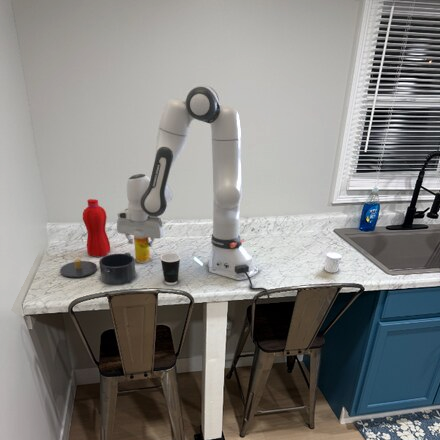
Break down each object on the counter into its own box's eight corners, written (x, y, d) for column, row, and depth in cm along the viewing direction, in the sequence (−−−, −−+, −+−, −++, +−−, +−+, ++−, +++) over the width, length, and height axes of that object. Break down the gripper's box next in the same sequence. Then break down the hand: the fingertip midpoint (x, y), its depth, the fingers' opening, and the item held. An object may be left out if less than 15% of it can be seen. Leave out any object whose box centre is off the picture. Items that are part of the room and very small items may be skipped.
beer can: (147, 264, 176) (144, 231, 169) (133, 262, 177) (131, 230, 169) (151, 258, 181) (149, 227, 174) (139, 257, 182) (136, 225, 175)
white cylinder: (330, 274, 173) (332, 259, 169) (319, 268, 178) (322, 253, 174) (342, 271, 175) (345, 256, 172) (331, 265, 181) (334, 250, 177)
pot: (143, 269, 171) (142, 253, 167) (122, 290, 155) (121, 272, 151) (115, 265, 174) (113, 249, 170) (91, 284, 158) (88, 267, 154)
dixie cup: (171, 275, 167) (170, 251, 161) (185, 281, 163) (184, 256, 157) (157, 282, 161) (155, 257, 156) (171, 288, 157) (170, 263, 152)
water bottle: (114, 248, 190) (108, 196, 177) (104, 258, 180) (98, 203, 168) (95, 247, 191) (88, 194, 179) (85, 256, 181) (77, 201, 169)
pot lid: (103, 266, 173) (102, 256, 171) (85, 280, 161) (83, 270, 158) (73, 261, 176) (72, 251, 174) (53, 275, 164) (51, 265, 162)
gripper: (165, 215, 169) (165, 245, 176) (120, 209, 173) (123, 239, 180) (159, 219, 164) (160, 250, 170) (113, 213, 168) (116, 244, 175)
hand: (140, 244), depth 175 cm, fingers open, 8 cm apart
